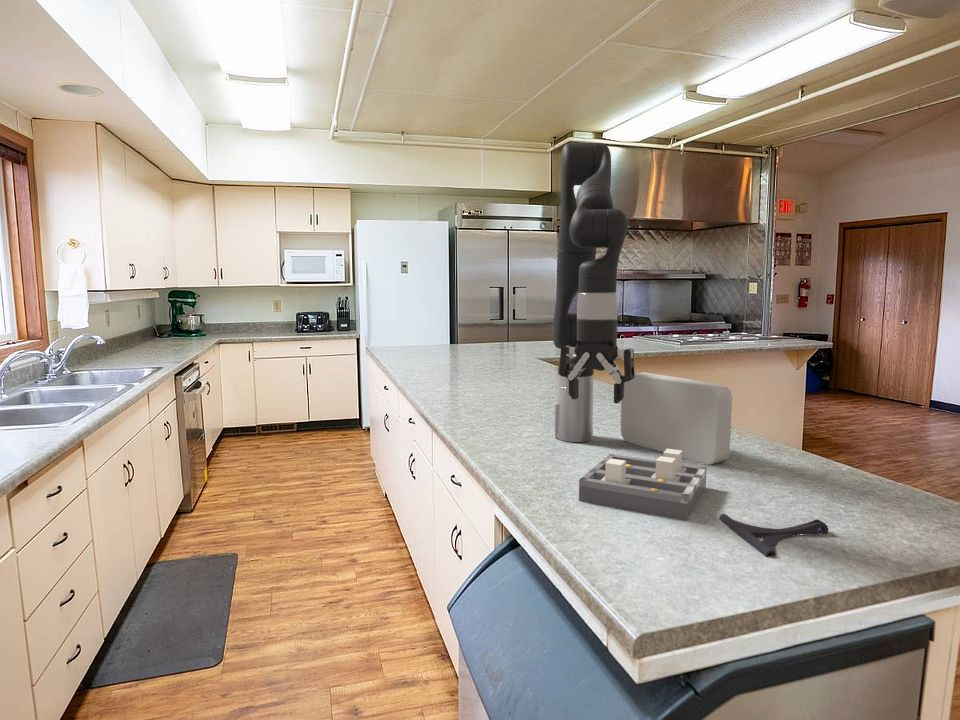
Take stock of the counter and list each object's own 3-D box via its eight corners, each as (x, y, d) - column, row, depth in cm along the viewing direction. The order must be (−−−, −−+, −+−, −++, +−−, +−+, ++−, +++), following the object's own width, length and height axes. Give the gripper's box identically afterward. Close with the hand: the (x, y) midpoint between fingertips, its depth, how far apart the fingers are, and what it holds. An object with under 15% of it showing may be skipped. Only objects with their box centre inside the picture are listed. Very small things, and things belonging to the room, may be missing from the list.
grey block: (735, 461, 138) (739, 385, 135) (715, 467, 134) (718, 388, 131) (639, 435, 161) (641, 370, 159) (620, 440, 157) (621, 372, 155)
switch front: (599, 484, 114) (600, 462, 113) (605, 478, 117) (605, 457, 116) (625, 488, 111) (626, 466, 111) (630, 482, 114) (631, 461, 114)
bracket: (856, 555, 92) (857, 538, 92) (765, 560, 91) (766, 543, 90) (797, 519, 106) (798, 504, 106) (718, 523, 105) (719, 508, 105)
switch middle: (650, 481, 115) (650, 459, 114) (654, 476, 118) (655, 455, 117) (676, 485, 112) (677, 463, 112) (680, 480, 115) (681, 458, 115)
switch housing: (578, 500, 114) (579, 478, 114) (609, 472, 131) (610, 453, 130) (687, 520, 104) (688, 496, 104) (705, 487, 121) (706, 466, 120)
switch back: (657, 472, 120) (658, 451, 120) (661, 468, 123) (662, 447, 122) (683, 476, 118) (684, 455, 117) (686, 471, 121) (687, 451, 120)
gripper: (554, 317, 114) (553, 400, 116) (628, 318, 106) (626, 407, 108) (569, 315, 120) (568, 394, 122) (639, 316, 113) (637, 400, 115)
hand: (595, 400), depth 115 cm, fingers open, 8 cm apart
